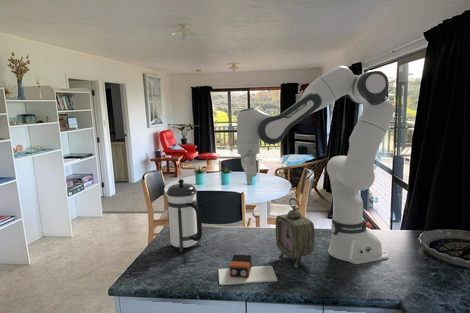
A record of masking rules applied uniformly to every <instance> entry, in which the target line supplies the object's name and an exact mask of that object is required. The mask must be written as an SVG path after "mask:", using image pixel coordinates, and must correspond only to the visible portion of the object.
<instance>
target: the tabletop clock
mask: <svg viewBox="0 0 470 313" xmlns="http://www.w3.org/2000/svg"><path fill="white" fill-rule="evenodd" d="M291 201H295V202H296V203H297V205H298V206H297V208H296V205H294V204H293V205H292V204H291V203H292V202H291ZM288 204H289V207H290V208H291V210H289V211H288V213H286V214H281V215H277V216H276V218H275V242H276V246H277V248H278V249H279V250H280V252H279V255H280V256H281V257H284V256H287V257H288V258H290V259H295V263H294V268H296V269H299V267H300V266H299V260H301V259H302V257H306V256H310V255H312V253H313V252H314V248H315V225H314V222H313V221H311V220H310V219H309V218H308V217H305V216H304V215H302V214H301V211H299V210H300V208H301V207H300V206H301V205H300V202H299V201H298V199H297V198H294V197H291V198H289V201H288Z"/></svg>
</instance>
